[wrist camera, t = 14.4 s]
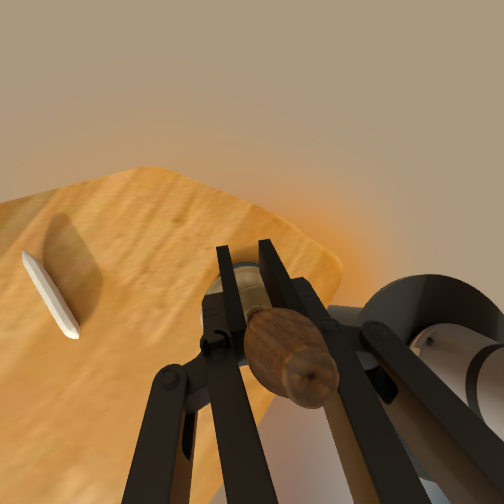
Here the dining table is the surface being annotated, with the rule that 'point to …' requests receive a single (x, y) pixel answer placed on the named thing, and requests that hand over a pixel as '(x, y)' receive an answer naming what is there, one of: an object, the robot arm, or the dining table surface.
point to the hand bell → (282, 345)
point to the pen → (51, 296)
